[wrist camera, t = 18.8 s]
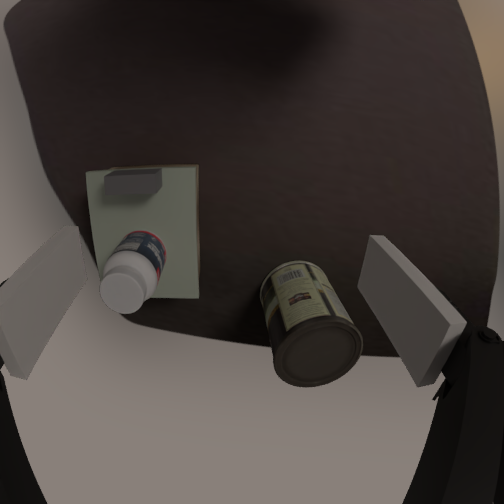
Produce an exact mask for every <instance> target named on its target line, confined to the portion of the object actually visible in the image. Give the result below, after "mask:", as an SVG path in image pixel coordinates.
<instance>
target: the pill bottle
mask: <svg viewBox="0 0 504 504" xmlns="http://www.w3.org/2000/svg"><path fill="white" fill-rule="evenodd" d="M166 258H167V251H166V247H165V245H164V243H163V241H162V240H161V238H160V237H159V236H158V235H156V234H155V233H153V232H151V231H148V230H142V229H141V230H134V231H132V232H130V233H128V234H127V235H126V236H125V237H124V238H123V239H122V241H121V242H120V243H119V245H118V246H117V247H116V249H115V250H114V251H113V253H112V254H111V256H110V257H109V258H108V260H107V262H106V263H105V266H104V270H103V279H102V281H101V284H100V295H101V298H102V300H103V302H104V303H105V304H106V305H107V306H108V307H109V308H110V309H112V310H113V311H115V312H118V313H122V314H130V313H133V312H135V311H137V310H138V309H139V308H140V307H141V306H142V304H143V302H144V301H146V300H148V299H149V298H150V297H151V296H152V295H153V293H154V292H155V290H156V288H157V285H158V282H159V279H160V276H161V273H162V271H163V268H164V265H165V262H166Z"/></svg>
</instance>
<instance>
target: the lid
mask: <svg viewBox="0 0 504 504" xmlns="http://www.w3.org/2000/svg"><path fill="white" fill-rule="evenodd" d="M86 183H87V194H88V204H89V212H90V220H91V228H92V235H93V242H94V248H95V254H96V260H97V265H98V271H99V276H100V281H102V279H103V270H104V266H105V263H106V262H107V260H108V258H109V257H110V256H111V254H112V253H113V251H114V250H115V249H116V247H117V246H118V245H119V243H120V242H121V241H122V239H123V238H124V237H125V236H126V235H127V234H128V233H130V232H132V231H134V230H141V229H142V230H148V231H151V232H153V233H155V234H156V235H158V236H159V237H160V238H161V240H162V241H163V243H164V245H165V247H166V251H167V258H166V262H165V265H164V268H163V271H162V273H161V276H160V279H159V282H158V285H157V288H156V290H155V292H154V293H153V295H152V296H151V297H150V298H199V281H198V255H197V217H196V166H195V167H152V168H129V169H112V170H98V171H88V172H86Z"/></svg>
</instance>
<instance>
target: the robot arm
mask: <svg viewBox="0 0 504 504" xmlns="http://www.w3.org/2000/svg"><path fill="white" fill-rule="evenodd" d="M86 281H87V276H86V270H85V265H84V259H83V254H82V248H81V242H80V235H79V228H78V226H64V227H63V228H62V229H60V230H59V231H58V232H57V233H56V234H55V235H54V236H52V237H51V238H50V239H49V240H48V241H47V242H46V243H45V244H44V245H43V246H41V247H40V248H39V249H38V250H37V251H36V252H35V253H34V254H33V255H32V256H31V257H30V258H29V259H28V260H27V261H26V262H25V263H24V264H23V265H22V266H21V267H20V268H19V269H18V270H17V271H16V272H15V273H14V274H13V275H12V276H11V277H10V278H8V279H7V280H5V281H3V282H2V283H1V285H0V369H1V368H2V366H3V364H5V366H6V367H7V369H8V371H9V373H10V375H11V376H14V377H18V378H21V379H26V380H27V379H28V377H29V375H30V373H31V371H32V369H33V367H34V365H35V364H36V362H37V360H38V358H39V356H40V355H41V353H42V351H43V349H44V348H45V346H46V344H47V342H48V341H49V339H50V337H51V336H52V334H53V332H54V331H55V329H56V327H57V326H58V324H59V322H60V321H61V319H62V318H63V316H64V314H65V313H66V311H67V310H68V308H69V307H70V305H71V303H72V302H73V300H74V299H75V297H76V296H77V294H78V293H79V291H80V290H81V288H82V287H83V285H84V284H85V282H86ZM357 287H358V289H359V290H360V292H361V293H362V295H363V297H364V298H365V300H366V301H367V303H368V305H369V306H370V308H371V309H372V311H373V313H374V314H375V316H376V317H377V319H378V321H379V322H380V324H381V326H382V327H383V329H384V330H385V332H386V334H387V335H388V337H389V339H390V340H391V342H392V344H393V346H394V347H395V349H396V351H397V352H398V354H399V356H400V357H401V359H402V361H403V363H404V364H405V366H406V368H407V370H408V371H409V373H410V375H411V377H412V378H413V380H414V382H415V384H416V386H417V387H421V386H426V385H430V384H434V383H435V381H436V379H437V378H438V376H439V374H440V373H441V371H442V373H443V375H444V376H445V380H444V382H443V383H442V385H441V387H440V388H439V390H438V391H437V393H436V394H435V396H434V397H433V400H436V398H437V397H438V396H439V398H438V402H437V406H436V410H435V413H434V417H433V421H432V424H431V427H430V431H429V434H428V437H427V441H426V444H425V447H424V450H423V453H422V455H421V458H420V461H419V464H418V467H417V469H416V472H415V475H414V477H413V480H412V482H411V485H410V487H409V490H408V492H407V494H406V497H405V499H404V501H403V503H402V504H504V341H502V340H501V338H500V336H499V335H498V334H497V333H496V332H495V331H493V330H492V329H490V328H488V327H485V326H476V327H475V326H474V325H473V324H472V323H471V321H470V320H469V319H468V318H467V317H466V316H465V315H464V314H463V312H462V311H461V310H460V309H459V308H457V306H456V305H455V304H454V303H453V302H451V299H450V298H449V297H448V296H447V295H446V294H445V293H444V292H442V291H441V290H439V289H438V288H436V287H435V286H434V285H433V284H432V283H431V282H430V281H429V280H428V279H427V278H426V277H425V276H424V275H423V274H422V273H421V272H420V271H419V270H418V269H417V268H416V267H415V266H414V265H413V264H412V263H411V262H410V261H409V260H408V259H407V258H406V257H405V256H404V255H403V254H402V253H401V252H400V251H399V250H398V249H397V248H396V247H395V246H394V245H393V244H392V243H391V242H390V241H389V240H388V239H387V238H386V237H385V236H377V235H370V236H369V241H368V245H367V250H366V254H365V258H364V262H363V266H362V270H361V274H360V278H359V282H358V286H357ZM0 504H47V502H46V500H45V498H44V496H43V494H42V491H41V489H40V487H39V485H38V483H37V480H36V478H35V476H34V473H33V471H32V469H31V466H30V464H29V461H28V458H27V456H26V453H25V450H24V448H23V445H22V442H21V439H20V436H19V433H18V429H17V426H16V423H15V420H14V416H13V413H12V409H11V406H10V402H9V398H8V394H7V389H6V385H5V381H4V377H3V375H2V373H1V371H0Z"/></svg>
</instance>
